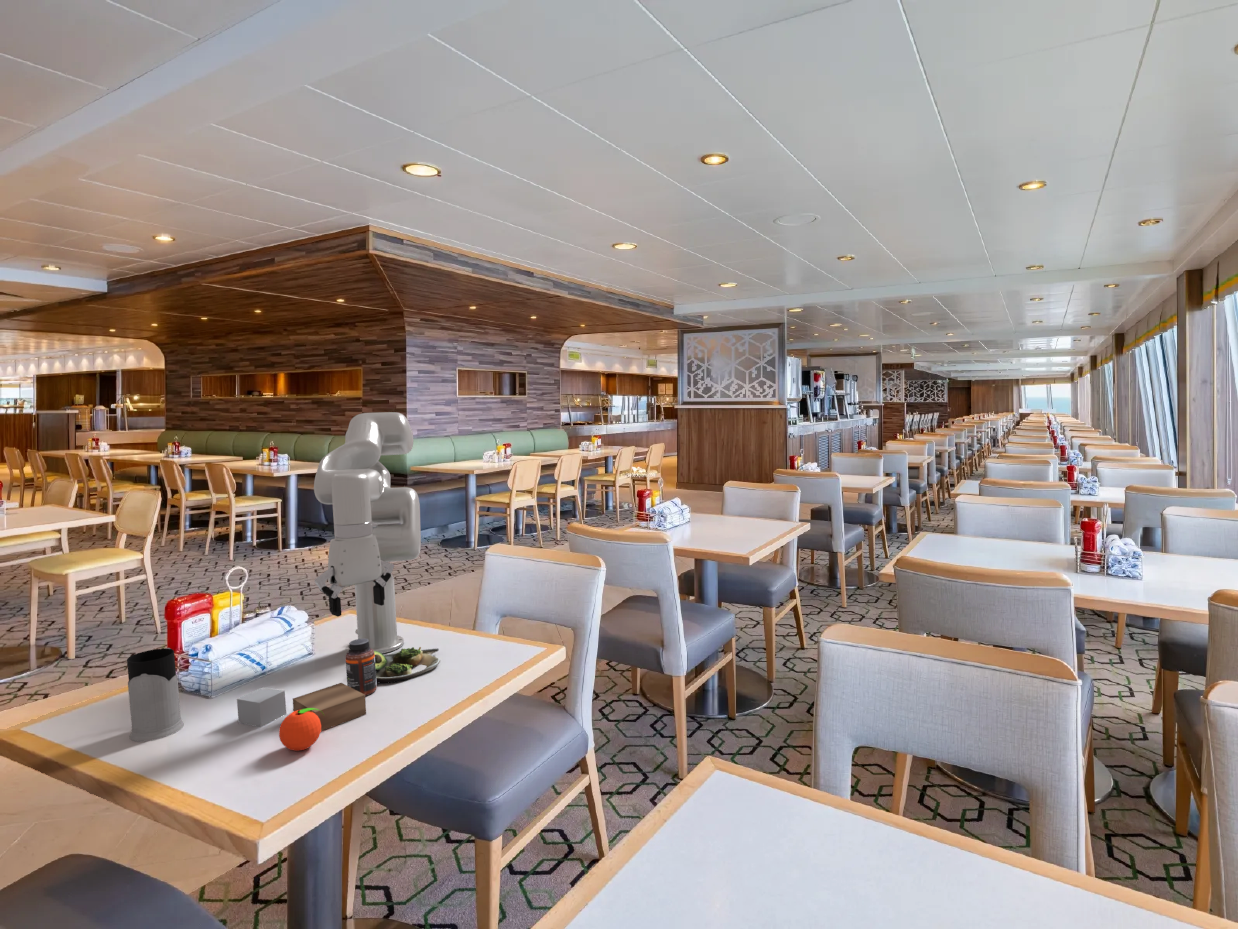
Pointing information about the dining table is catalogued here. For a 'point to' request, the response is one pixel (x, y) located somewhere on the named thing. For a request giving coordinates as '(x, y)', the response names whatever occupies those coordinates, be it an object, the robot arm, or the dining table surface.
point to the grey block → (261, 706)
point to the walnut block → (333, 704)
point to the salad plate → (403, 664)
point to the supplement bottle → (361, 667)
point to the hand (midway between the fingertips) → (358, 609)
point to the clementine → (300, 729)
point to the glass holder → (153, 695)
